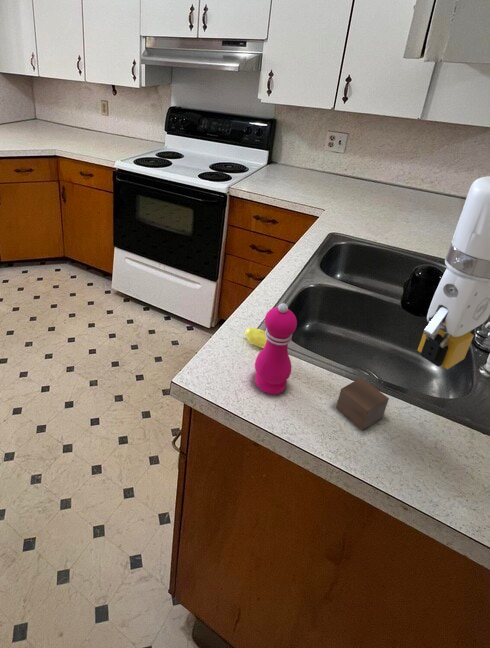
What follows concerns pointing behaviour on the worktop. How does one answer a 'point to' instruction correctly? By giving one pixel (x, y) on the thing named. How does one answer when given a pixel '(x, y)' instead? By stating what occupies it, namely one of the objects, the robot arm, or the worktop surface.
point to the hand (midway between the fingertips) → (441, 353)
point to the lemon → (256, 336)
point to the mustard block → (452, 348)
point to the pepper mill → (275, 350)
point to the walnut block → (362, 403)
